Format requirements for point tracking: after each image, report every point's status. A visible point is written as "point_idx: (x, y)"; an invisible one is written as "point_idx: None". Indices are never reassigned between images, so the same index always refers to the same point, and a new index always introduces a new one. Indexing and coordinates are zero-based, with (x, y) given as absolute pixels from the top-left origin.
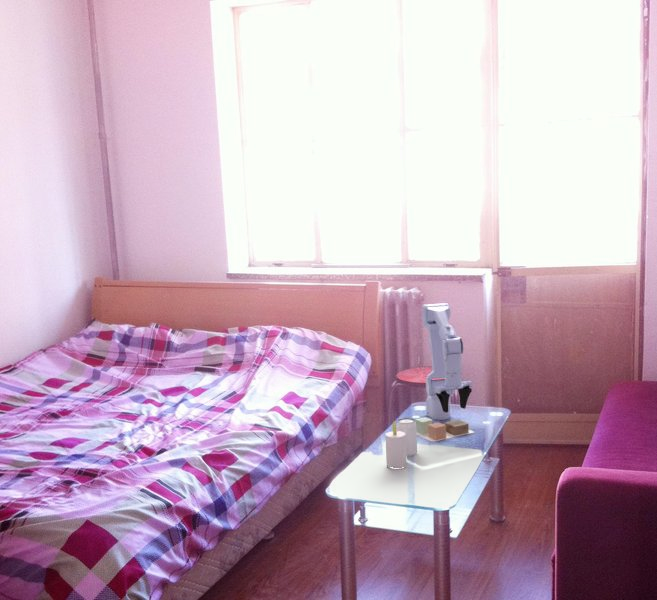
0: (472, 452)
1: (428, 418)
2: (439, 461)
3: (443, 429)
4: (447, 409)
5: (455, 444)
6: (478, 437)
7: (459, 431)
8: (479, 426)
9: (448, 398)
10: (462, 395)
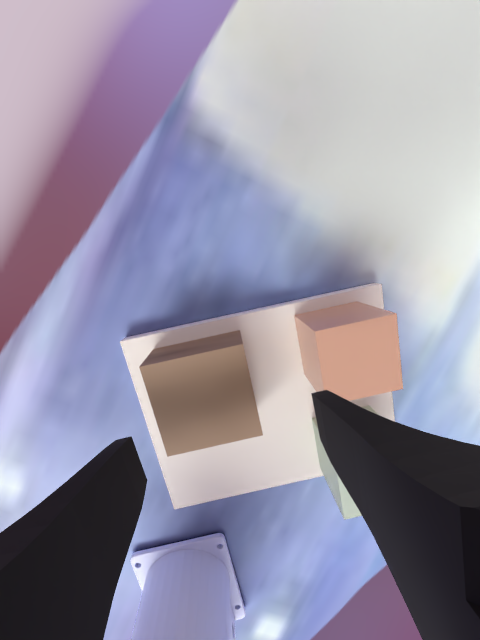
0: (250, 77)
1: (342, 492)
2: (472, 16)
3: (326, 322)
4: (331, 398)
5: (275, 241)
6: (123, 295)
7: (210, 340)
8: (58, 442)
9: (414, 465)
10: (68, 602)
